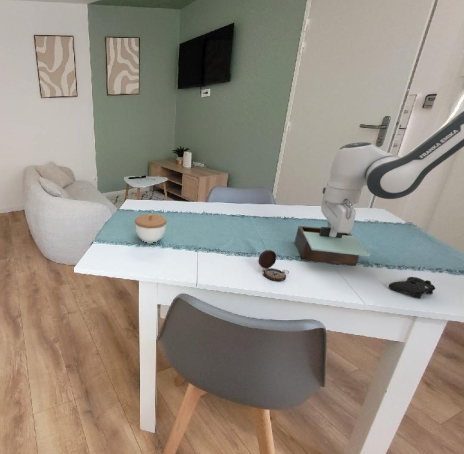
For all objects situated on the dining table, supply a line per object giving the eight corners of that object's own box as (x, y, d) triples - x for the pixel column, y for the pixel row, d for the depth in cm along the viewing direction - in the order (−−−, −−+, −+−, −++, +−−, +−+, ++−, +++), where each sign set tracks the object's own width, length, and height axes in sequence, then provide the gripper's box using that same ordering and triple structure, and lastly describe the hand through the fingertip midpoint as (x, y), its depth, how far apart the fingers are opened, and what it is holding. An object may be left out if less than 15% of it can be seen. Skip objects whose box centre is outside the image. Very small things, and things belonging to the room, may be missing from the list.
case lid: (353, 237, 98) (357, 228, 96) (369, 256, 86) (373, 245, 85) (302, 232, 103) (305, 223, 101) (311, 249, 91) (314, 239, 90)
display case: (342, 247, 106) (347, 230, 104) (355, 266, 94) (362, 247, 92) (294, 242, 112) (298, 225, 109) (301, 259, 100) (306, 241, 97)
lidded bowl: (132, 234, 126) (132, 211, 121) (160, 232, 127) (161, 208, 122) (138, 247, 114) (138, 222, 110) (169, 244, 115) (171, 219, 111)
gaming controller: (407, 277, 86) (431, 272, 81) (418, 295, 84) (444, 290, 79) (385, 284, 83) (409, 279, 78) (396, 302, 81) (421, 299, 76)
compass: (273, 283, 88) (277, 262, 85) (255, 270, 95) (258, 250, 92) (295, 278, 90) (300, 258, 87) (276, 266, 97) (280, 246, 94)
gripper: (366, 206, 82) (352, 249, 88) (343, 187, 100) (333, 224, 105) (339, 204, 85) (327, 246, 90) (321, 186, 102) (312, 222, 107)
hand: (330, 234), depth 98 cm, fingers closed on case lid
